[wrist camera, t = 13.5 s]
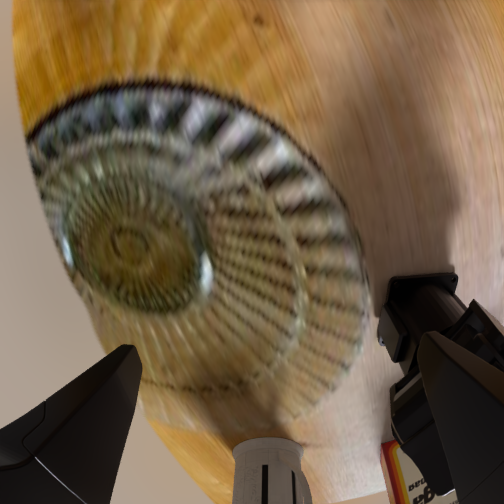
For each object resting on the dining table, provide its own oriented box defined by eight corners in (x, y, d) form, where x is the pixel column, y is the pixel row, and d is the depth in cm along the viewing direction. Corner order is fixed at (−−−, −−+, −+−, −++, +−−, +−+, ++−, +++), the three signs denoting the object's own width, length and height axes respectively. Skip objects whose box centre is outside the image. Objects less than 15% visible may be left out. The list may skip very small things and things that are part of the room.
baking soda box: (446, 420, 31) (483, 515, 16) (439, 442, 33) (468, 527, 19) (380, 444, 32) (405, 548, 17) (380, 463, 35) (399, 554, 20)
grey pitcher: (224, 462, 34) (214, 561, 20) (261, 404, 28) (257, 545, 15) (286, 471, 35) (289, 565, 21) (338, 417, 29) (359, 542, 16)
